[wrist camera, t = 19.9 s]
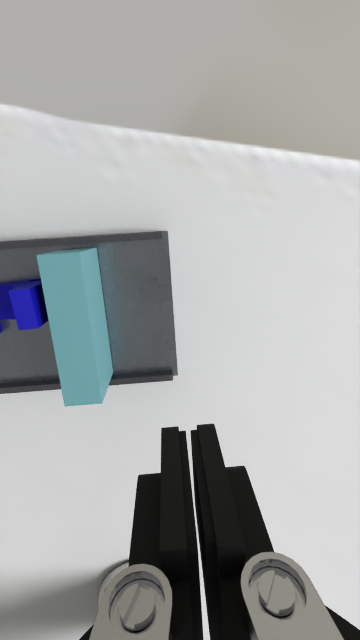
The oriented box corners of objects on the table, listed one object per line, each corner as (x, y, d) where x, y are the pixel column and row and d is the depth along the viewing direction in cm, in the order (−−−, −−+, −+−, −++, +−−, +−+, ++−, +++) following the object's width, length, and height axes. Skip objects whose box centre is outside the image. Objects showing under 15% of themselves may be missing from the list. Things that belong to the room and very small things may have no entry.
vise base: (177, 369, 33) (180, 407, 26) (-86, 389, 32) (-157, 435, 25) (167, 230, 29) (168, 231, 22) (-132, 250, 28) (-232, 257, 21)
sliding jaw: (113, 371, 31) (102, 403, 26) (82, 374, 31) (64, 406, 25) (96, 247, 28) (79, 252, 22) (62, 249, 28) (36, 255, 22)
